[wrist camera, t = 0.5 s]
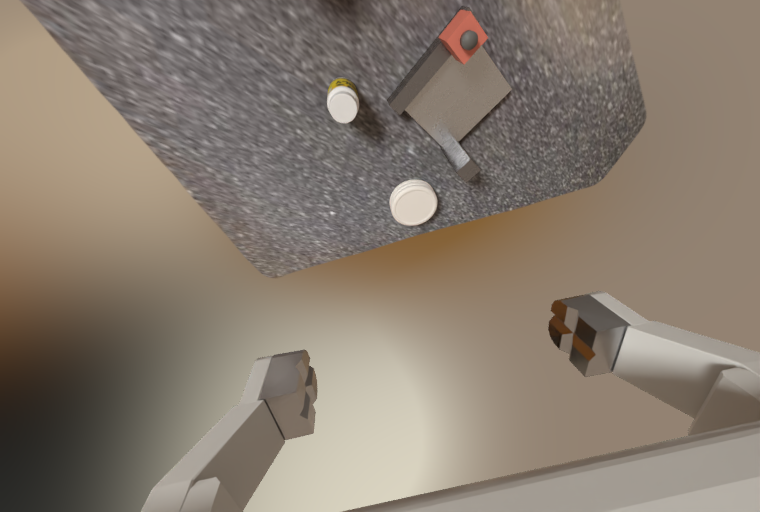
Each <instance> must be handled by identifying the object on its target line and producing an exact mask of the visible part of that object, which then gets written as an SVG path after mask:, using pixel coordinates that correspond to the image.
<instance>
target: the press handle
mask: <svg viewBox="0 0 760 512" xmlns="http://www.w3.org/2000/svg"><path fill="white" fill-rule="evenodd" d="M438 38H439V39H440V40H441V42H442V43H443V44H444V45H445V47H446V48H447V49H448V51H449V52H450V53H451V55H452V56H453V57H454V58H455V60H457V61H459V62H460V63H462V64H463V65H464V64H465V63H466V62H467V61H468V60H469V59H470V58H471V57H472V55H473V54H474V53H475V52H476V51H477V50H478V49H479V48H480V46H481V45H482V44H483V43H484V42H485V41H486V40H487V39H488V37H487V35H486V34H485V32H484V31H483V29H482V28H481V26H480V25H479V23H478V22H477V20H476V19H475V17H474V16H473V14H472V13H471V11H466V10H460V11H459V12H458V13H457V15H456V16H455V17H454V18H453V20H452V21H451V22H450V23H449V25H448V26H447V27H446V28H445V30H444V31H443V32H442V33H441V35H440V36H439V37H438Z"/></svg>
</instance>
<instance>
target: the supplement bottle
mask: <svg viewBox="0 0 760 512" xmlns="http://www.w3.org/2000/svg"><path fill="white" fill-rule="evenodd" d="M327 106H328V109H329V112H330V113H331V115H332V117H333V118H334V119H335V120H336V121H337V122H340V123H349V122H351V121H352V120H353V119H354V118H355V116H356V114H357V112H358V109H359V99H358V93H357V89H356V87H355V85H354V83H353V82H352V81H351V80H349V79H347V78H344V77H339V78H336V79H334V80H333V81H332V82H331V84H330V85H329V88H328V96H327Z"/></svg>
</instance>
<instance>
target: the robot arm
mask: <svg viewBox="0 0 760 512" xmlns="http://www.w3.org/2000/svg"><path fill="white" fill-rule="evenodd" d="M551 311H552V313H553V314H554V316H553V317H552V319H551V320H550V321H549V327H548V330H549V334H550V337H551V339H552V340H553V342H554V344H555V345H556V346H557V347H558V348H559V350H562V351H564V352H566V353H568V354H569V360H570V361H571V363H572V364H573V365H574V366H575V367H576V368H577V369H578V370H579V371H580V372H581V373H582V374H583V375H584V376H585V377H588V376H594V375H599V374H605V373H610V372H613V374H614V375H616V376H618V377H619V378H621V379H623V380H625V381H627V382H629V383H631V384H633V385H634V386H636V387H638V388H640V389H641V390H643V391H645V392H647V393H649V394H651V395H652V396H654V397H656V398H658V399H660V400H662V401H663V402H665V403H667V404H669V405H671V406H673V407H674V408H676V409H678V410H680V411H682V412H684V413H685V414H687V415H689V416H691V417H693V418H694V421H693V422H692V424H691V426H690V428H689V430H688V436H686V437H681V438H677V439H672V440H667V441H663V442H659V443H654V444H650V445H645V446H640V447H635V448H631V449H626V450H622V451H618V452H613V453H608V454H603V455H599V456H594V457H589V458H585V459H580V460H576V461H571V462H567V463H562V464H557V465H553V466H548V467H544V468H539V469H534V470H530V471H525V472H521V473H517V474H512V475H507V476H502V477H498V478H493V479H489V480H484V481H480V482H475V483H471V484H466V485H461V486H457V487H453V488H448V489H443V490H439V491H434V492H430V493H425V494H420V495H416V496H411V497H407V498H402V499H398V500H393V501H388V502H384V503H379V504H375V505H370V506H366V507H361V508H357V509H352V510H347V511H343V512H760V353H759V352H756V351H752V350H749V349H746V348H742V347H739V346H736V345H732V344H729V343H726V342H722V341H719V340H716V339H713V338H709V337H706V336H703V335H699V334H696V333H693V332H690V331H686V330H683V329H679V328H676V327H672V326H670V325H666V324H663V323H660V322H656V321H652V322H649V321H647V320H646V319H645V318H643V317H641V316H640V315H639V314H637V313H635V312H634V311H633V310H631V309H630V308H628V307H627V306H625V305H624V304H622V303H621V302H619V301H618V300H616V299H614V298H613V297H612V296H610V295H609V294H607V293H605V292H602V291H597V292H593V293H589V294H584V295H579V296H575V297H570V298H565V299H560V300H555V301H554V302H553V304H552V307H551ZM309 362H310V357H309V355H308V352H307V351H306V350H300V351H295V352H289V353H283V354H277V355H274V356H268V357H262V358H258V359H257V360H256V361H255V362H254V365H253V368H252V370H251V373H250V376H249V379H248V381H247V384H246V387H245V390H244V392H243V395H242V398H241V401H240V404H239V405H235V406H233V407H232V408H231V409H230V410H229V411H228V412H227V413H226V414H225V415H224V417H222V419H221V420H220V421H219V422H218V423H217V424H216V425H215V426H214V427H213V428H212V429H211V430H210V431H209V432H208V433H207V434H206V435H205V436H204V437H203V438H202V439H201V440H200V441H199V442H198V443H197V444H196V445H195V446H194V447H193V448H192V449H191V450H190V451H189V452H188V453H187V454H186V455H185V456H184V457H183V458H182V459H181V460H180V461H179V462H178V463H177V464H176V465H175V466H174V467H173V468H172V469H171V470H170V471H169V472H168V473H167V474H166V475H165V477H163V478H162V479H161V481H159V483H158V484H157V485H156V486H155V487H154V488H153V489H152V491H151V493H150V495H149V497H148V498H147V501H146V502H145V504H144V506H143V508H142V510H141V512H243V510H244V508H245V506H246V505H247V503H248V501H249V499H250V498H251V497H252V495H253V493H254V492H255V490H256V488H257V487H258V485H259V484H260V482H261V480H262V479H263V477H264V476H265V474H266V472H267V471H268V469H269V467H270V466H271V464H272V463H273V461H274V459H275V458H276V456H277V454H278V453H279V451H280V450H281V448H282V446H283V445H284V443H285V441H284V440H288V439H292V438H297V437H301V436H305V435H309V434H313V433H314V423H315V413H316V412H315V409H314V407H313V403H314V402H315V401H316V399H317V379H316V374H315V371H314V368H312V367H311V366H309Z"/></svg>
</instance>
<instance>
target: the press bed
mask: <svg viewBox="0 0 760 512" xmlns="http://www.w3.org/2000/svg"><path fill="white" fill-rule="evenodd" d="M460 10H466V11H471V9H470V8H469V7H465V6H462V7H461V8H460V9H459V11H460ZM459 11H458V12H459ZM458 12H457V13H458ZM457 13H456V14H455V16H456V15H457ZM471 13H472V14H473V12H472V11H471ZM455 16H454V17H455ZM473 16H474V17H475V15H474V14H473ZM454 17H453V18H454ZM453 18H452V19H451V21H452V20H453ZM475 19H476V20H477V18H476V17H475ZM451 21H450V22H451ZM450 22H449V23H450ZM477 22H478V23H479V21H478V20H477ZM449 23H448V24H447V26H448V25H449ZM447 26H446V27H447ZM446 27H445V28H446ZM445 28H444V29H443V31H444V30H445ZM443 31H442V32H443ZM442 32H441V33H442ZM441 33H440V34H439V36H440V35H441ZM439 36H438V37H439ZM438 37H437V38H436V39H435V41H434V42H433V43H432V44H431V46H430V47H429V48H428V49H427V51H426V52H425V53H424V54H423V56H422V57H421V58H420V59H419V61H418V62H417V63H416V64H415V66H414V67H413V68H412V69H411V71H410V72H409V73H408V74H407V76H406V77H405V78H404V79H403V81H402V82H401V83H400V84H399V86H398V87H397V88H396V89H395V91H394V92H393V93H392V94H391V96H390V97H389V98H388V99H387V101H388V103H389V105H390V106H391V107H392V108H393V109H394V110H395V111H396V112H397V113H398V114H399V115H401V114H402V112H403V111H404V110H405V111H406V112H407V113H408V114H409V115H410V116H411V117H412V118H413V119H414V120H415V121H416V122H417V123H418V124H419V125H420V126H421V127H422V128H424V129H425V130H426V131H427V132H428V133H429V134H430V135H431V136H432V137H433V138H434V139H435V140H436V141H437V142H438V143H439V144H440V145H441V146H442V147H441V150H442V151H443V153H444V155H445V156H446V158H447V159H448V161H449V162H450V164H451V165H452V167H453V169H454V170H455V172H456V173H457V174H458V175H459V176H460V177H461V178H462V179H463V180H464V181H465V182H466V183H467V182H468V181H469V180H470V179H471V178H472V177H473V176H475V175H476V174H477V173H478V172H479V171H480V168H479V167H478V166H477V165H476V163H475V162H474V161H473V159H472V158H471V157H470V156H469V154H468V153H467V152H466V151H465V149H464V148H463V147H462V146H461V144H460V143H459V141H460V140H461V139H462V138H463V137H464V136H465V135H466V134H467V133H468V132H469V131H470V130H471V129H472V128H473V127H474V126H475V125H476V124H477V123H478V122H479V121H480V120H481V119H482V118H483V117H484V116H485V115H486V114H487V113H488V112H489V111H490V110H491V109H492V108H494V107H495V106H496V105H497V104H498V103H499V102H500V101H501V100H502V99H503V98H504V97H505V96H506V95H507V94H508V93H509V92H510V91H511V90H512V89H511V87H510V86H509V84H508V83H507V82H506V80H505V79H504V77H503V76H502V74H501V73H500V71H499V70H498V68H497V67H496V65H495V64H494V63H493V61H492V60H491V58H490V57H489V55H488V54H487V52H486V51H485V49H484V48H483V47H482V45H481V46H480V48H479V49H478V50H477V51H476V52H475V53H474V54H473V55H472V57H471V58H470V59H469V60H468V61H467V62H466V63H465V64H464V65H463V64H462V63H460V62H459V61H457V60H455V58H454V57H453V56H452V55H451V53H450V52H449V51H448V49H447V48H446V47H445V45H444V44H443V43H442V42H441V40H440V39H439V38H438Z"/></svg>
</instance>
